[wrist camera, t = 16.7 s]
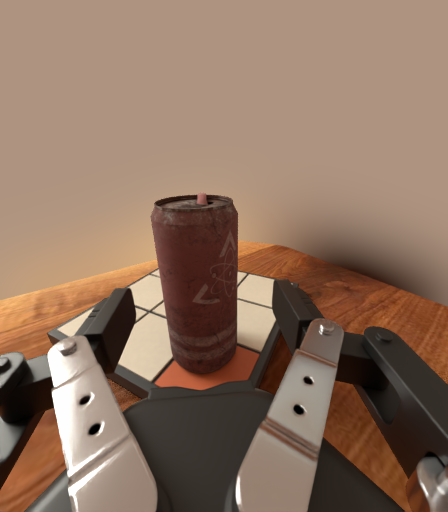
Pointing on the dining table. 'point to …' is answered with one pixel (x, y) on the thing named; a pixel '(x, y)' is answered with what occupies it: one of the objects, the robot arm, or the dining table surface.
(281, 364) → the dining table surface
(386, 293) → the dining table surface
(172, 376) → the board
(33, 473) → the dining table surface
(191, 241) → the can
